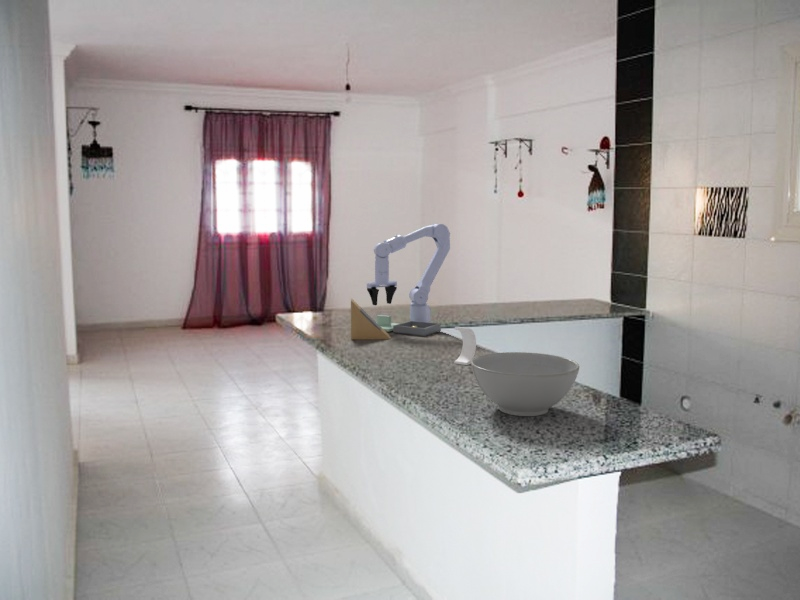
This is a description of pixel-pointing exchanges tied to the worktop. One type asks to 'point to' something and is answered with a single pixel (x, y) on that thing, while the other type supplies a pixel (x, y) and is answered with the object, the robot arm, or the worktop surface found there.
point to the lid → (385, 322)
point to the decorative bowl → (524, 380)
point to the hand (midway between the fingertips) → (381, 304)
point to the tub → (421, 329)
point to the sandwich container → (364, 325)
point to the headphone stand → (466, 346)
